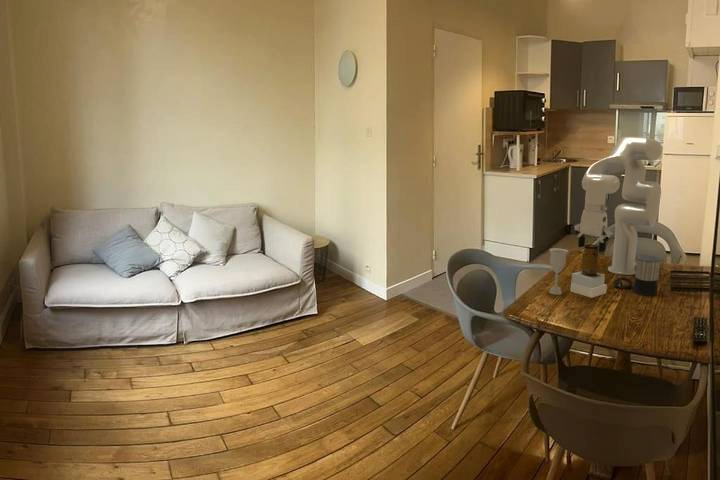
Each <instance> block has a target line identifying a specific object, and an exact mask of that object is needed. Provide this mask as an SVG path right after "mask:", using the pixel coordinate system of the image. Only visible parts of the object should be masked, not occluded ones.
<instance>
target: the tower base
mask: <svg viewBox="0 0 720 480" xmlns="http://www.w3.org/2000/svg"><path fill="white" fill-rule="evenodd" d="M607 289H608V284H605V283H604V285H601V286H597V287H593V288H588V287H584V286H581V285H577V284H574V283H572V282H571V283H570V292H572V293H573V294H574V293H575V294H577V295H581V296H585V297H588V298H595V297H598V296H602V295H605V294H607Z"/></svg>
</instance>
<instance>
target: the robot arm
mask: <svg viewBox="0 0 720 480" xmlns="http://www.w3.org/2000/svg"><path fill="white" fill-rule="evenodd" d="M662 151H663V147H662V144H661V142H660V141H658V140H655V139H654V138H652V137H651V138H650V137H647V136H623V137H620V138H619V139H618V140H617V142H616V143H615V145H614V147H613V148H612V150H611V151H610V153H609V154H608V156H606V157H603V158H601V159H600V160H598V161H596V162H594V163H593V164H591V165H590V166H589V167H588V169H587V170H586V172H585V173H584V175H583V177H582V180H581V187H582V189H583V190H584V191H585V199H584V200H585V201H584V209H583V211H582V215H581V217H580V223H577V224H574V226H573V227H574V231H575V234H576V235H577V236H576V237H577V238H578V244H577V245H578V246H577V247H578V248H582V247H584V246H585V245H586V237H585V236H590V237H596V238H598V239H599V241H600V242H599V244H598V253H603V252H605V251H606V247H607V246H606V245H607V243H608V242H609V240H611V238H612V236H613V235H614V239H613V240H614V241H613V251H612V261H611V265H610V266H608V267H607V271H608V272H610V273H612V274H616V275H622V276H633V275H634V276H635V275H636V268H635V267H636V266H637V260H636V254H637V245H638V244H637V243H638V233H637V230H636V229H635V227H640V228H646V229H647V228H653V227H655V225H656V223H657V220H658V216H659V215H658V214H659V208H660V202H661V198H662V187H661V185H660V184H659V183H658V182H656V181H650V180H649V181H647V180H646V174H647V168H646V166H645V164H644V163H643V161H649V162H652V161H657V160H659V158H661V156H662ZM624 170H625V171H624ZM622 171H624V177H623V183H622V188H621V190H622V191H621V197H622V199H623V200H625V201H629V202H636V203H645V204H646V205H641V204H634V203H621V204H619V205H617V206H616V208H615V209H614V226H615V227H614V229H615V230H614V234H613V232H612V231H611V230H610V229H609V228H608V215H607V210H608V207H607V206H606V200H607V195H609V194H615V193H616V192H617V191H619V189H620V185H621V181H620V179H619V177H617V176H616V175H613V174H616V173H619V172H622ZM611 174H612V175H611Z"/></svg>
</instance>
